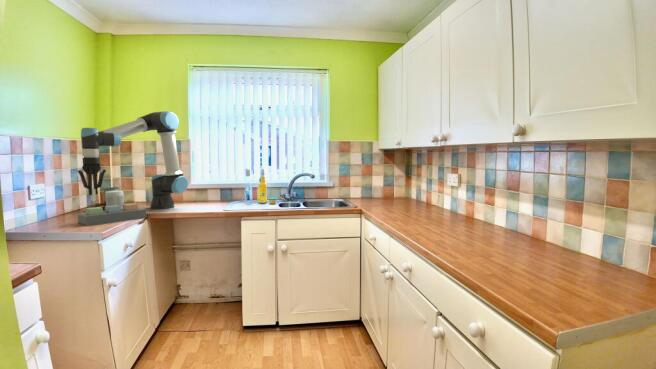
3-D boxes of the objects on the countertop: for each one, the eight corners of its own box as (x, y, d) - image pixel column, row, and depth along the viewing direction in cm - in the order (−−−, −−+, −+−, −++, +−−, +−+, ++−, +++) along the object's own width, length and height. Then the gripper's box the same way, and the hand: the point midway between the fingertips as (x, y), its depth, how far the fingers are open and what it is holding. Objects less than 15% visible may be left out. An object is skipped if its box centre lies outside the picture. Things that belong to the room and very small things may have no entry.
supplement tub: (123, 213, 219) (122, 190, 218) (126, 215, 212) (125, 191, 211) (105, 215, 213) (103, 191, 212) (107, 217, 206) (106, 192, 205)
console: (136, 215, 212) (136, 207, 212) (146, 217, 203) (146, 209, 203) (78, 222, 189) (77, 213, 189) (86, 226, 180) (85, 216, 180)
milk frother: (119, 210, 232) (118, 188, 231) (91, 212, 225) (89, 189, 224) (121, 207, 245) (120, 186, 244) (94, 209, 238) (93, 187, 237)
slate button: (117, 211, 200) (116, 205, 200) (121, 213, 196) (120, 205, 196) (105, 213, 196) (104, 206, 195) (109, 214, 192) (108, 207, 192)
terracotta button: (133, 209, 207) (133, 203, 207) (138, 210, 203) (137, 204, 203) (122, 211, 203) (122, 204, 202) (126, 212, 199) (126, 205, 198)
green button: (99, 214, 193) (98, 206, 193) (103, 215, 190) (102, 207, 189) (86, 215, 189) (86, 208, 188) (90, 216, 185) (89, 209, 185)
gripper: (102, 156, 194) (104, 199, 196) (74, 157, 184) (77, 201, 186) (107, 156, 189) (109, 200, 191) (78, 157, 179) (81, 202, 181)
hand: (93, 200), depth 188 cm, fingers closed
